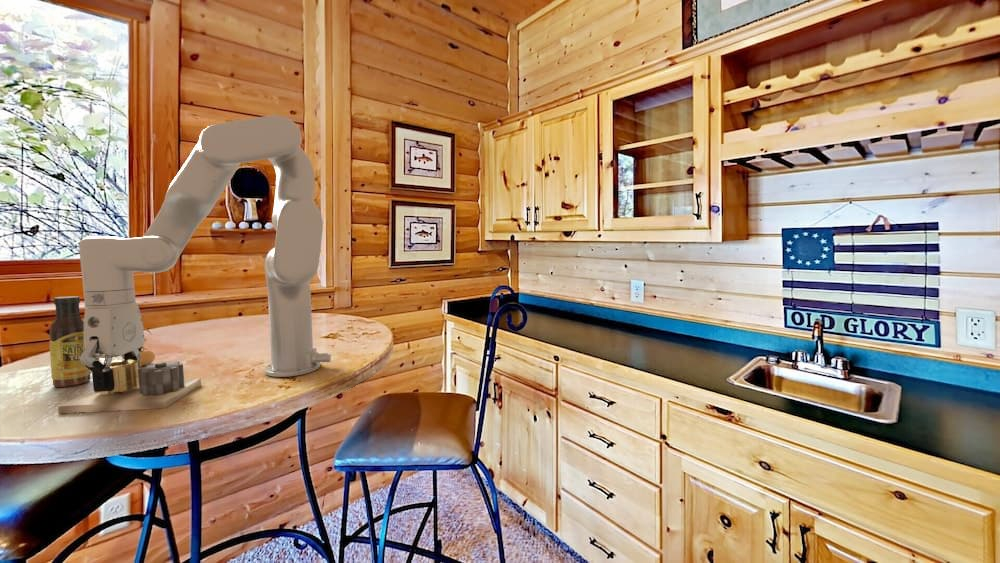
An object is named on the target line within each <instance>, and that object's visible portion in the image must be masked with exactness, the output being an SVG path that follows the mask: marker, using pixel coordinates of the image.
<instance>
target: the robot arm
mask: <svg viewBox="0 0 1000 563" xmlns="http://www.w3.org/2000/svg"><path fill="white" fill-rule="evenodd" d="M302 143H303V134H302V131H301V130H300V128H299V126H298V124H296V122H294V120H292V119H291V118H288V117H286V116H284V115H278V114H277V115H276V114H275V115H265V116H259V117H253V118H246V119H239V120H235V121H234V120H232V121H226V122H220V123H219V122H218V123H215V124H211V125H208V126H206V127H205V128H204V129H203V130H202V131H201V133H200V135H199V139H198V141H197V143H196V145H195V146H194V148H193V149H192V151H191V153H190V154H189V155H188V157H187V159H186V160H185V162H184V163H183V165H182V167H181V168H180V169H179V171H178V172H177V174H176V176H174V178H173V180H172V181H171V183H170V185H169V187H168V189H167V191H166V194H165V197H164V199H163V200H164V201H163V203H162V205H161V208H160V209H159V211H158V213H157V215H156V217H155V218H154V219H153V221H152V223H151V224H150V225H149V227H148V229H147V230H146V232H145V233H144V235H143V236H141V237H131V238H130V237H129V238H125V237H121V236H87V237H83V238H82V239H80V240H79V243H78V250H79V261H80V270H81V278H82V279H81V280H82V281H81V282H82V291H83V301H84V316H83V322H84V346H85V350H84V351H83V353H82V354H81V356H80V358H79V359H80V361H81V362H82V363H84V364H85V366H86V367H87V368H88V369H89V372H90V373H91V375H92V376H91V377H92V378H91V379H92V386H93V390H94V391H95V392H102V391H112V390H114V379H113V370H111V371H109V370H110V366H111V362H112V361H113V358H117V357H120V356H121V357H122V360H125V359H131V360H139V358H140V357H141V354H140V351H141V350H143V349H142V346H144V345H145V343H146V341H145V332H144V331H145V330H144V329H143V326H144V325H143V319H142V314H141V311H140V307H139V304H138V302H137V301H136V290H135V279H134V277H135V276H134V272H139V273H140V272H141V273H151V274H152V273H153V274H154V273H155V274H157V273H162V272H163V273H164V272H166V271H168V270H171V269H172V268H173V267H175V265H176V264H177V262H178V259H179V258H180V256H181V254H182V252H183V251H184V249H185V248H186V246H187V245H188V243H189V241H190V240H191V238H192V236H194V234H195V232H196V231H197V229H198V228H199V226H200V224H201V223H202V222H203V221H204V220H205V218H207V216H209V215H210V213H211V212H212V210H213V208H214V207H215V205H216V204H217V202H218V201H219V199H220V198H221V196H222V194H223V192H224V191H225V190H226V188H227V186H228V185H229V182H231V180H232V179H233V177H234V175H235V173H236V171H238V169H239V167H240V165H241V164H245V163H249V162H257V161H261V160H262V161H263V160H266V159H267V160H268V161H269V162H270V163H271V165H272V166H273V168H274V170H275V175H276V177H275V179H276V180H275V193H274V202H273V210H272V215H271V223H272V226H273V228H274V230H275V231H276V233H275V241H274V242H275V243H274V247H273V248H272V249H271V250H270V251H268V253H267V255H266V257H265V261H264V275H265V282H266V289H267V302H268V322H269V325H268V326H269V340H270V356H271V357H270V359H271V363H269V364H267V365H266V366H265V367H264V373H265V375H267V376H269V377H275V378H287V377H289V378H290V377H296V376H302V375H307V374H310V373H312V372H315V371H316V370H318V369H319V368H320V367H321V363H331V361H332V355H331V354H329V353H328V352H323V353H322V352H321V353H319V352H317V348H316V347H315V348H314V343H313V342H314V340H313V339H314V338H313V319H312V296H311V293H312V292H311V288H310V285H311V284H310V282H311V281H312V280H313V279H314V278H315V276H316V275H317V272H318V269H319V265H320V258H321V248H322V247H321V246H322V239H323V238H322V237H323V229H324V227H323V224H324V221H323V215H322V212H321V210H320V209H319V207H318V206H317V205H316V204H315V203H314V201H315V200H314V199H315V186H316V185H315V184H316V183H315V182H316V181H315V179H316V178H315V171H314V167H313V163H312V162H311V160H310V158H309V156H308V154H307V153H306V152H305V151H304V149H303V148H302V147H301V146H302ZM100 360H103V363H104V364H103V363H102V362H101V361H100Z"/></svg>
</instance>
